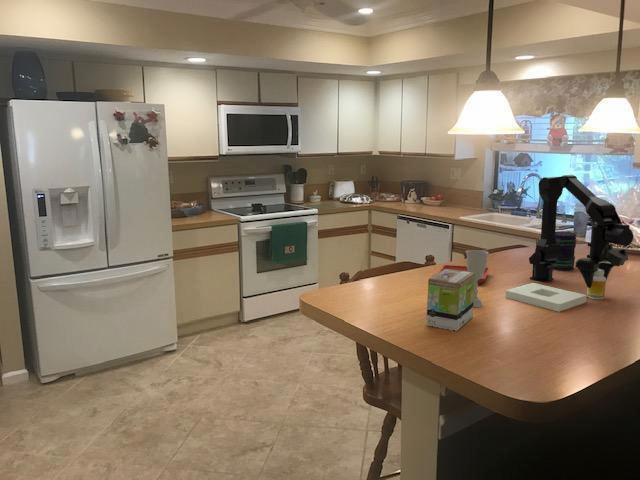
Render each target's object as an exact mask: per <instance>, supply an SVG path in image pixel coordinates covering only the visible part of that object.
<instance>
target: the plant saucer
mask: <svg viewBox="0 0 640 480" xmlns="http://www.w3.org/2000/svg"><path fill="white" fill-rule="evenodd" d="M444 269H450V270H458V271H466V272H468V269H467V265H451V264H444V265H442V267H441V269H440V270H439V271H438V273H439V272H441V271H443V270H444ZM489 269H490V267H487V266H486V269H485V272H484V273H483V275H482V277H481V279H479V280H478V281H477V284H478V285H481V284H482V283H483V282H484V281H485V280H486V277H487V275H488V272H489Z"/></svg>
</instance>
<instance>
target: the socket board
mask: <svg viewBox="0 0 640 480" xmlns="http://www.w3.org/2000/svg"><path fill="white" fill-rule="evenodd" d="M504 297H505V298H506V299H510V300H514V301H517V302H522V303H525V304H529V305H532V306H537V307H538V308H539V307H541V308H543V309H548V310H552V311H555V312H557V313H558V312H559V313H560V312H563V311H566V310H568V309H570V308H571V309H572V308H573V307H577V306H579V305H583V304H586V302H587V294H583V293H579V292H574V291H570V290H566V289H562V288H557V287H552V286H549V285H543V284H540V283H535V282H531V283H527V284H524V285H523V284H522V285H519V286H517V287H513V288H509V289H506V290H505V296H504Z"/></svg>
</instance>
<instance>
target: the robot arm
mask: <svg viewBox="0 0 640 480" xmlns="http://www.w3.org/2000/svg"><path fill="white" fill-rule="evenodd" d="M564 189H566V190H567V191H568V192H569V193H570V194H572V196H573V197H574V198H576V199H577V201H579V202H580V203H581V204H582V205H583V207H584V208H585V212H586V214H587V215H588V217H589V218H590V221H589V222H587V223H586V226H587V227H591V234H590V242H588V243H587V247H589V254H586V257H581V258H578V259H577V260H575V264H574V266H575V267H574V268H577V270H579V272H580V274H581V275H582V277H583V280H584V282H585V285H586V287H587V288H591V286H592V282H593V277H594V273H596V272H597V271H598V269H601V270H604V275H603V276H604V277H605V278H606V281H607V280H608V278H609V276H610V275H609V274H610V273H611V271H612V269H613V268H614V267H620V266H624V265H625V262H626V261H628V260H629V255H628V254H629V253H628V250H627V249H624V248H622V249H620V250H618V249H614V248H613V245H618V246H623V247H628V246H630V245H631V244H632V243H633V240H634V233H633V230H632V229H630V224H623V223H622V220H621V219H620V217H619V215H618V212H617V210H616V206H615V205H614V204H612V202H609V201H608V200H606V199H603V198H600V197H598V196H596V194H594V192H592V190H590V189H589V188H588V187H587V186H586V185H584V184H583V182H581V181H580V180H579V179H578V177H577V176H576V175H574V174H565V175H564V174H563V175H562V176H548V177H545V176H544V177H542V178H541V179H540V180H539V182H538V194H539V196H540V198H541V200H542V214H541V228H540V229H541V230H540V239H539V241H537V244H536V245H535V250H534V252H533V253H532V254H531V255H530V256H529V258H528V262H529V264H531V265H532V273H531V274H532V276H530V277H529V279H530V280H534V281H539V282H548V281H552V280H554V277H553V271H554V270H553V269H552V264H556V261H557V258H559V254H561V253H560V247H561V245H560V244H558V243H557V241H556V240H555V232H556V231H557V230H556V229H557V228H556V227H557V226H556V225H557V211H558V210H557V209H558V200H559V199H560V198H561V196H562V194H563V190H564Z"/></svg>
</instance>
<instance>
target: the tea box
mask: <svg viewBox="0 0 640 480" xmlns="http://www.w3.org/2000/svg"><path fill="white" fill-rule="evenodd" d="M427 283H428V284H427V298H426V299H427V301H426V302H427V303H426V321H425V325H426V326H429V327H432V326H433V327H432V328H437V327H438V329H442V328H443V330H447V329H449V331H453V330H455V331H454V332H458V331H459V329H461V328H462V327H463V326H465V324H466V323H468V321H470V320H471V319H472V318H473V315H474V307H473V302H474V284H475V273H473V272H466V271H458V270H450V269H444V270H443V271H441V272H439V271H438V272H437V273H436V274H434V275H432V276H431V277H429V278H428V281H427Z"/></svg>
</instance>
